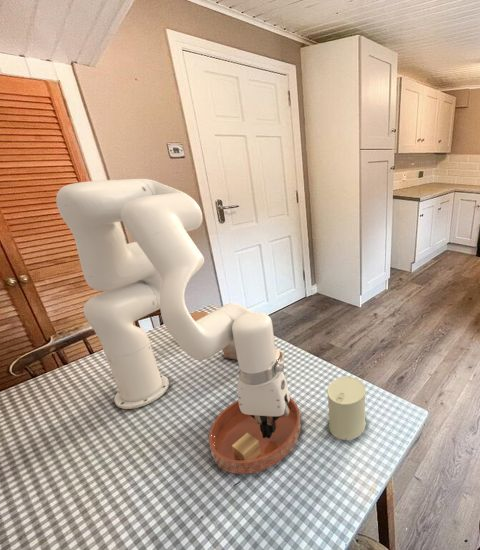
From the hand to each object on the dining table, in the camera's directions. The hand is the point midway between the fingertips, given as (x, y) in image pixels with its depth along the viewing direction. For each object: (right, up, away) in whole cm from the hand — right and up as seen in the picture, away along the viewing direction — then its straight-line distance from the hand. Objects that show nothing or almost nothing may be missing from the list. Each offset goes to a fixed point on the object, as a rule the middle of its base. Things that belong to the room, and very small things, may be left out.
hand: (268, 432), depth 71 cm
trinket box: (-40, +14, +42) cm, 60 cm away
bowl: (-3, -2, +3) cm, 5 cm away
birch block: (-4, -4, -3) cm, 6 cm away
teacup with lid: (-6, +5, +21) cm, 23 cm away
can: (+18, -1, +5) cm, 19 cm away
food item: (-18, +9, +31) cm, 37 cm away
